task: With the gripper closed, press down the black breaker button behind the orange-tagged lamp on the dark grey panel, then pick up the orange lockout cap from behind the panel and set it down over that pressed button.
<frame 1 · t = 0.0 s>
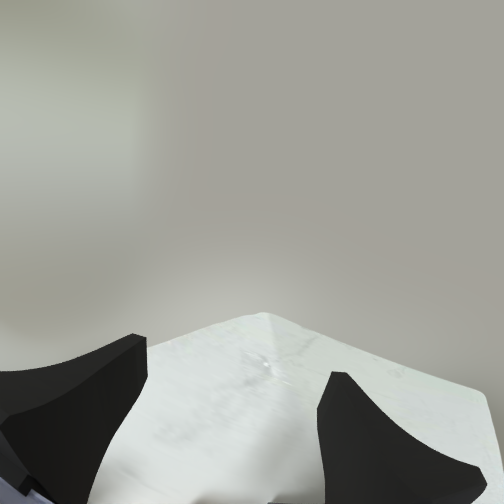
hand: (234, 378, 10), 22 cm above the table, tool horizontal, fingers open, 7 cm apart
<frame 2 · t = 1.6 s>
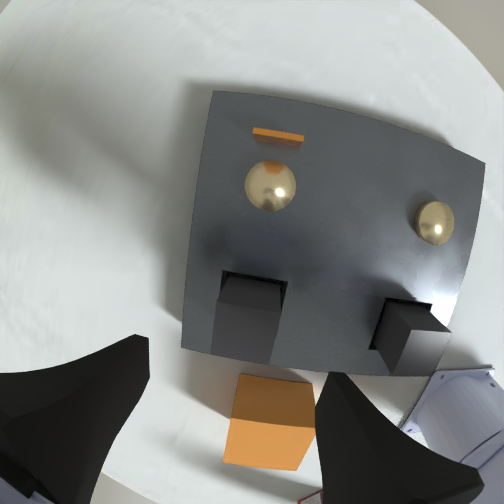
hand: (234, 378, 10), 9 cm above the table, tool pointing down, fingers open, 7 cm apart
lockout cap: (269, 404, 21), on the table
breaker panel: (339, 246, 18), on the table
tagged breaker: (247, 317, 15), point 4 cm above the table, slide at 0.0 cm
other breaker: (409, 338, 15), point 4 cm above the table, slide at 0.0 cm
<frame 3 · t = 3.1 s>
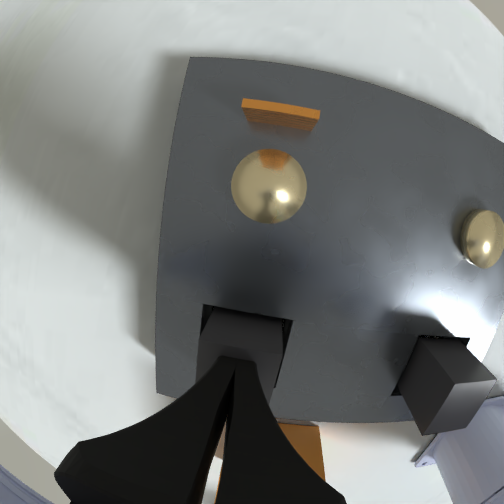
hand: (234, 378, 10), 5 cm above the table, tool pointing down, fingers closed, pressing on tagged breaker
lockout cap: (267, 446, 17), on the table
breaker panel: (360, 267, 13), on the table
tagged breaker: (240, 351, 12), point 3 cm above the table, slide at 1.4 cm, touching gripper
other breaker: (444, 383, 10), point 4 cm above the table, slide at 0.0 cm
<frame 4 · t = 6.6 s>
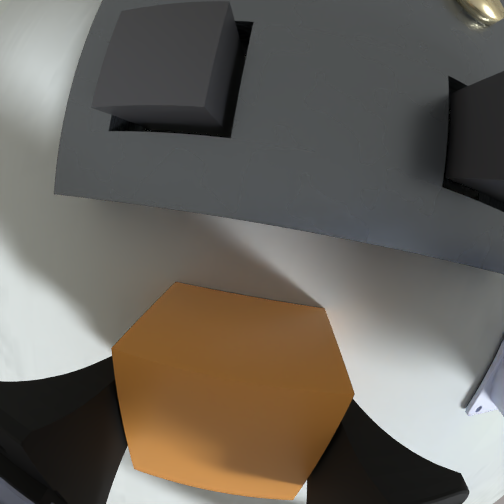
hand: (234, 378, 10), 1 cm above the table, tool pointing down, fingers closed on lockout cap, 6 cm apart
lockout cap: (238, 358, 11), on the table, touching gripper
breaker panel: (345, 28, 8), on the table
tagged breaker: (180, 75, 7), point 2 cm above the table, slide at 1.9 cm
when the fingers open (5 cm above the table, at t = 10.3 s): lockout cap stays where it is, resting on breaker panel.
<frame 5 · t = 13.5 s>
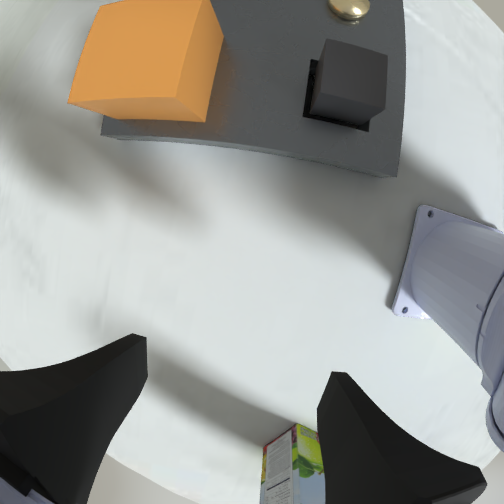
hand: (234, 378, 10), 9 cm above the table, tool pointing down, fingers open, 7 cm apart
lockout cap: (167, 75, 14), point 2 cm above the table, touching breaker panel
breaker panel: (263, 41, 15), on the table
snack box: (350, 462, 23), on the table
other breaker: (346, 85, 12), point 4 cm above the table, slide at 0.0 cm
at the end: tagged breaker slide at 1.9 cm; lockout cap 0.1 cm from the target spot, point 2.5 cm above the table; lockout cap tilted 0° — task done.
